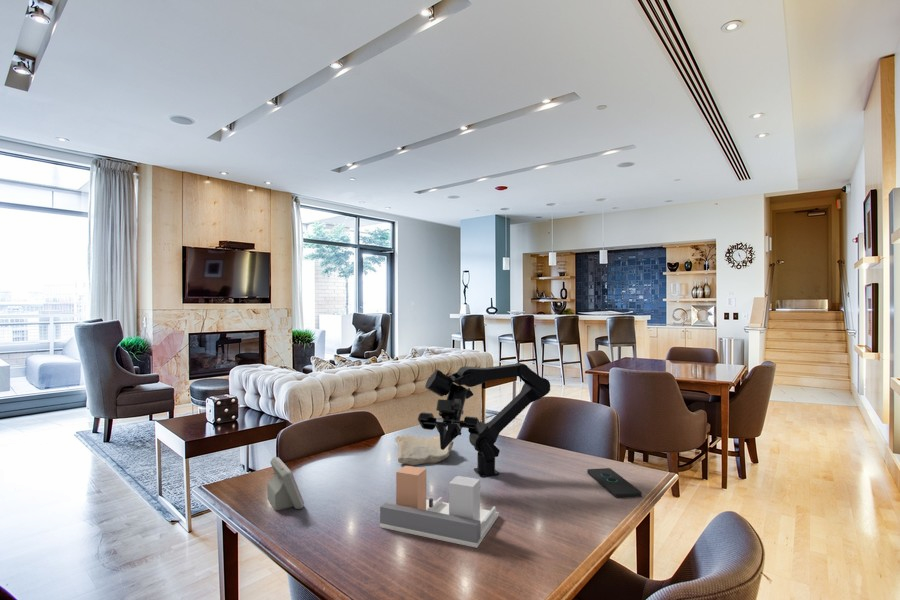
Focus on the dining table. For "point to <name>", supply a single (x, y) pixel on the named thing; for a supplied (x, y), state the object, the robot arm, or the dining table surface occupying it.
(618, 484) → the smart home device
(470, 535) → the base
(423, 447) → the beige rock
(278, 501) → the digital clock
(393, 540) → the dining table surface
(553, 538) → the dining table surface
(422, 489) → the tall tan brick
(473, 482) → the tall white block
